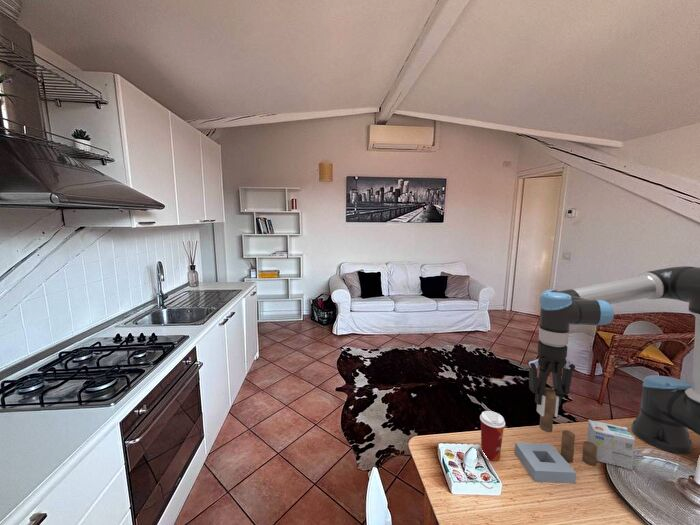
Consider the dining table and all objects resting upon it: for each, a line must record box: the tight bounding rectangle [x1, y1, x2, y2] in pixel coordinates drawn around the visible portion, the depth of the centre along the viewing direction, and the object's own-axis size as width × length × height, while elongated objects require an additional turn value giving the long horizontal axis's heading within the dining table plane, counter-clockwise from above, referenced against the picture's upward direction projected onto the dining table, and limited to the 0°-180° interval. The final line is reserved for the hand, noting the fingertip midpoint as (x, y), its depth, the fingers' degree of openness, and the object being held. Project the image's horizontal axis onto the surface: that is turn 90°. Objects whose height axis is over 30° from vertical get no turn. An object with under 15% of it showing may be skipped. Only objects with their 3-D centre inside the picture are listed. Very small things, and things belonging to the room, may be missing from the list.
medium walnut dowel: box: [560, 429, 576, 464], centre depth 97 cm, size 3×3×9 cm
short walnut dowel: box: [582, 440, 597, 467], centre depth 96 cm, size 3×3×6 cm
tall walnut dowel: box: [538, 386, 555, 433], centre depth 92 cm, size 3×3×13 cm
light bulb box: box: [586, 419, 636, 471], centre depth 97 cm, size 11×7×11 cm, turn 65°
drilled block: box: [514, 442, 577, 484], centre depth 94 cm, size 12×12×4 cm
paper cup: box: [479, 410, 506, 462], centre depth 98 cm, size 8×8×14 cm
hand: (546, 413), depth 92 cm, fingers closed on tall walnut dowel, 3 cm apart
